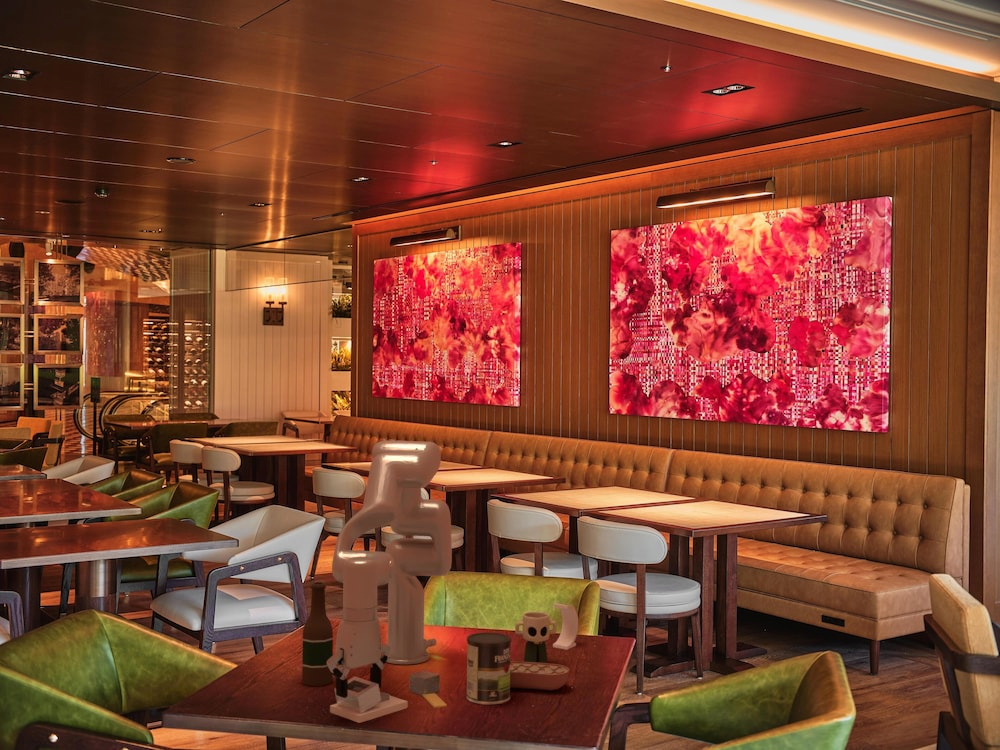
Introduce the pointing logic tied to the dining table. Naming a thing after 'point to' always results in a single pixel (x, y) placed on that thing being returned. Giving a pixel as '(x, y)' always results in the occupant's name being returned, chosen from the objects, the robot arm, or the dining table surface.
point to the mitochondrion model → (537, 675)
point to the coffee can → (488, 668)
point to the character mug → (536, 635)
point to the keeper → (379, 709)
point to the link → (360, 695)
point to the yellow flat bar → (434, 700)
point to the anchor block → (424, 682)
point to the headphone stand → (567, 627)
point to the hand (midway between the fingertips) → (358, 691)
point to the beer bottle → (317, 641)
